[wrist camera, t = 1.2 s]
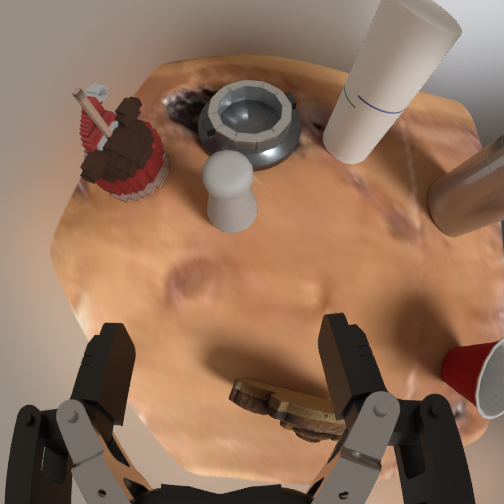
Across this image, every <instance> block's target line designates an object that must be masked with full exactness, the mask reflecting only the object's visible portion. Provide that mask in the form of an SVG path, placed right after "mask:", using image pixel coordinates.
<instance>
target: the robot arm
mask: <svg viewBox="0 0 504 504" xmlns="http://www.w3.org/2000/svg"><path fill="white" fill-rule="evenodd" d="M428 207H429V211H430V214H431V216H432V219H433V220H434V222H435V224H436V225H437V227H438V228H439V229H440V230H441V231H442V232H443V233H445V234H446V235H448V236H451V237H457V236H460V235H463V234H466V233H469V232H471V231H475V230H477V229H480V228H483V227H485V226H488V225H491V224H493V223H496V222H499V221H501V220H504V134H502V135H501V136H500V137H498V138H497V139H495V140H494V141H493V142H491V143H490V144H489V145H487V146H486V147H485V148H483V149H482V150H480V151H479V152H478V153H476V154H475V155H473V156H472V157H471V158H469V159H468V160H466V161H465V162H463V163H462V164H461V165H459V166H458V167H456V168H455V169H453V170H452V171H451V172H449V173H447V174H446V175H445V176H443V177H442V178H440V179H439V180H437V181H436V182H434V183H433V184H432V185H431V187H430V189H429V192H428ZM318 349H319V354H320V358H321V362H322V365H323V369H324V373H325V377H326V381H327V385H328V389H329V393H330V397H331V402H332V406H333V410H334V414H335V419H336V421H338V420H343V419H344V421H345V425H346V427H345V429H344V431H343V433H342V435H341V437H340V439H339V441H338V442H337V444H336V446H335V448H334V450H333V451H332V453H331V455H330V457H329V458H328V460H327V462H326V463H325V465H324V467H323V468H322V469H321V471H320V472H319V473H318V475H317V476H316V478H315V479H314V481H313V482H312V484H311V486H310V487H309V489H308V490H307V492H306V493H302V492H300V491H297V490H294V489H289V488H282V487H281V484H278V485H269V486H268V485H267V486H255V487H254V486H253V487H248V488H244V489H241V490H237V491H232V492H228V493H224V494H216V493H212V492H208V491H204V490H200V489H196V488H193V487H190V486H177V485H167V484H161V488H157V489H152V488H151V486H150V485H149V484H148V482H147V481H146V479H145V478H144V477H143V476H142V475H141V474H140V473H139V472H138V471H137V470H136V469H135V467H134V466H133V465H132V463H131V461H130V460H129V458H128V456H127V455H126V453H125V452H124V450H123V448H122V447H121V445H120V443H119V441H118V439H117V438H116V436H115V434H114V432H113V426H114V425H120V426H123V421H124V414H125V409H126V403H127V397H128V392H129V387H130V382H131V377H132V372H133V367H134V362H135V357H136V352H135V347H134V344H133V342H132V340H131V338H130V336H129V334H128V332H127V330H126V328H125V326H124V325H123V324H122V323H104V324H103V326H102V329H101V332H100V335H94V337H93V338H92V339H91V340H90V342H89V343H88V345H87V347H86V350H85V353H84V357H83V359H82V362H81V366H80V368H79V372H78V375H77V378H76V381H75V385H74V388H73V392H72V395H71V397H70V399H69V400H67V401H65V402H63V403H62V404H61V405H60V406H59V408H58V409H53V410H45V411H40V410H39V409H37V408H36V407H35V406H33V405H26V406H24V407H23V408H21V410H20V411H19V413H18V415H17V419H16V424H15V428H14V433H13V438H12V443H11V449H10V455H9V462H8V469H7V478H6V489H5V504H71V490H72V475H73V477H74V479H75V481H76V483H77V485H78V487H79V489H80V491H81V493H82V495H83V497H84V499H85V501H86V502H87V504H364V503H365V502H366V500H367V498H368V496H369V494H370V492H371V490H372V488H373V486H374V484H375V482H376V480H377V478H378V476H379V474H380V471H381V459H382V457H383V454H384V452H385V450H386V447H387V446H394V451H395V456H396V461H397V466H398V471H399V477H400V482H401V488H402V494H403V500H404V504H475V498H474V493H473V487H472V482H471V478H470V473H469V469H468V464H467V461H466V456H465V453H464V449H463V445H462V442H461V438H460V435H459V431H458V428H457V425H456V422H455V419H454V416H453V413H452V410H451V407H450V404H449V402H448V401H447V399H446V398H445V397H443V396H442V395H439V394H431V395H428V396H427V397H425V398H424V399H423V400H422V401H416V400H401V399H398V398H396V397H395V396H394V395H392V394H390V393H389V392H388V391H387V389H386V387H385V385H384V382H383V379H382V377H381V374H380V371H379V368H378V366H377V363H376V361H375V358H374V355H373V353H372V350H371V348H370V347H369V343H368V340H367V338H366V335H365V333H364V332H363V331H362V330H361V329H360V328H359V327H358V326H357V325H356V324H354V325H348V322H347V319H346V317H345V315H344V313H335V314H326V315H324V316H323V320H322V324H321V329H320V333H319V337H318ZM44 447H45V452H44ZM43 452H44V458H43ZM42 459H43V466H42ZM73 463H74V466H73Z"/></svg>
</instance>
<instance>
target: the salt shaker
mask: <svg viewBox="0 0 504 504" xmlns="http://www.w3.org/2000/svg"><path fill="white" fill-rule="evenodd" d="M202 181H203V183H204V185H205V187H206V189H207V191H208V193H209V196H208V202H207V215H208V217H209V219H210V221H211V223H212V225H213V226H215V227H216V228H218V229H219V230H220V231H222V232H226V233H231V234H234V233H238V232H242V231H244V230H246V229H247V228H248V227H249V226H250V225H252V224H253V222H254V219H255V217H256V215H257V201H256V199H255V197H254V194H253V192H252V190H251V187H250V186H251V184H252V182H253V167H252V165H251V163H250V162H249V160H248V159H247V157H246V156H245V155H243V154H241V153H240V152H238V151H233V150H223V151H219V152H216V153H214V154H213V155H212V156H211V157H209V158H208V159H207V161H206V163H205V164H204V166H203V170H202Z"/></svg>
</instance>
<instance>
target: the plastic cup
mask: <svg viewBox="0 0 504 504" xmlns="http://www.w3.org/2000/svg"><path fill="white" fill-rule="evenodd" d="M441 375H442V379H443V380H444V381H445V382H446V384H447V385H449V386H450V387H452V388H453V389H455V391H456V392H458V393H459V394H460V395H462V396H463V397H465V398H466V399H467V400H469V401H470V402H471V403H473V404H474V406H476V409H477V410H478V411H479V413H480V414H481V416H482V417H483V418H487V419H493V418H495V417H498V416H500V415H502V414H503V413H504V337H503V338H502V339H501V340H499V341H496V342H492V343H485V344H477V345H470V346H463V347H457V348H454V349H452V350H451V351H450V352H448V354H447V355H446V357H445V358H444V361H443V363H442V367H441Z"/></svg>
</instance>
